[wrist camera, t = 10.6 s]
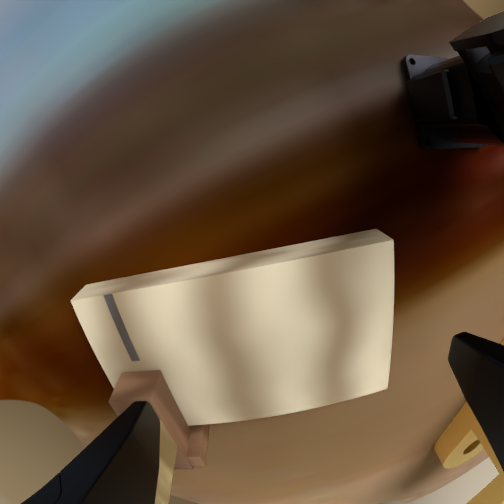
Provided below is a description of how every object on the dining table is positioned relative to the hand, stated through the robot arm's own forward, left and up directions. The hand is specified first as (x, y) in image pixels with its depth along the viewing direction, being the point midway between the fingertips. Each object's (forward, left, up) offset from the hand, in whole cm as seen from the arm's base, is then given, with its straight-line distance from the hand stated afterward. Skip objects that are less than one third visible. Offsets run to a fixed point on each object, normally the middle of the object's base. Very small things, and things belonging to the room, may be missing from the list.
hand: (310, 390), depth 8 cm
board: (+3, +6, -12) cm, 14 cm away
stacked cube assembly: (+10, +10, -11) cm, 18 cm away
